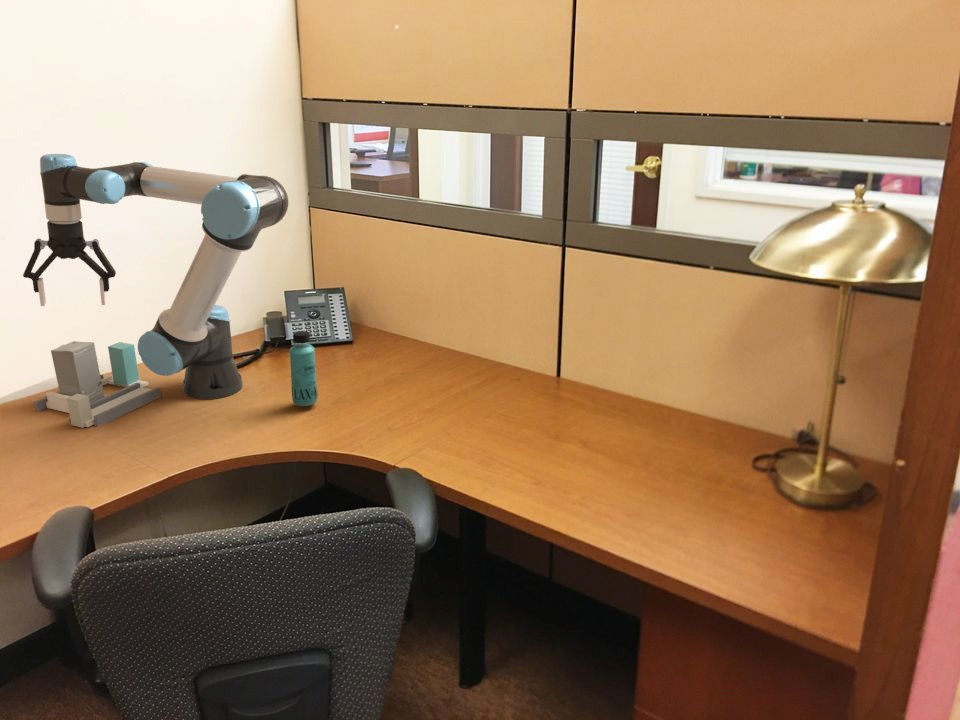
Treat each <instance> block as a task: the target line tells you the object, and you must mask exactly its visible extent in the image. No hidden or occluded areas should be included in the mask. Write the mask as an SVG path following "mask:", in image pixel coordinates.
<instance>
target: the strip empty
mask: <svg viewBox="0 0 960 720" xmlns="http://www.w3.org/2000/svg"><path fill="white" fill-rule="evenodd" d="M150 390H152V389H151V388H146V387H140V388H138V389H136V390H133V391H131V392H129V393H127V394H125V395H122V396H120V397H118V398H116V399H113V400H111V401H109V402H107V403H105V404H102V405H100V406H98V407H96V408H93V409H91V408H90V403H89V397H88V396H85V395H81V394H75V395H73V396H70V397H68V398H67V403H68V409H69V413H68V414H69V418H70V425H71V426H74V427H78V428H81V429H83V428H85V427H86V428H89V427H91V426H94V425H95V421H94V416H95V415H97V414H100V413H102V412H104V411H106V410H108V409H111V408H113V407H115V406H117V405H119V404H121V403H124V402H126V401H128V400H130V399H132V398H134V397H137V396H139V395H141V394H143V393H145V392H147V391H150Z"/></svg>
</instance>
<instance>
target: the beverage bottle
mask: <svg viewBox="0 0 960 720" xmlns="http://www.w3.org/2000/svg"><path fill="white" fill-rule="evenodd" d="M292 340H293V343H295V344H294V345H293V346H291V347H290V348H289V359H290V360H289V361H290V363H289V364H290V377H291V378H290V385H291V397H292V398H291V400H292V402H293V404H294V405H296V406H300V407H305V406H312V405H314V404H316V403H317V401H318V398H319V397H318V391H319V390H318V384H317V380H318V379H317V368H316V367H317V363H316V354H315V353H316V352H315V351H316V348H315V347H314V346H313V345H312V344H310V343H309V342H310V341H311V337H310V333H309V331H306V330H299V331H296V332H293V335H292Z"/></svg>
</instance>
